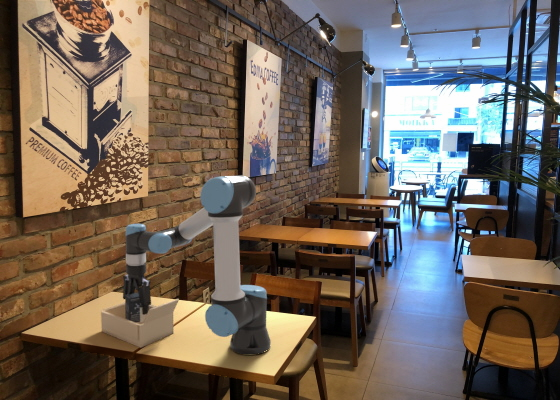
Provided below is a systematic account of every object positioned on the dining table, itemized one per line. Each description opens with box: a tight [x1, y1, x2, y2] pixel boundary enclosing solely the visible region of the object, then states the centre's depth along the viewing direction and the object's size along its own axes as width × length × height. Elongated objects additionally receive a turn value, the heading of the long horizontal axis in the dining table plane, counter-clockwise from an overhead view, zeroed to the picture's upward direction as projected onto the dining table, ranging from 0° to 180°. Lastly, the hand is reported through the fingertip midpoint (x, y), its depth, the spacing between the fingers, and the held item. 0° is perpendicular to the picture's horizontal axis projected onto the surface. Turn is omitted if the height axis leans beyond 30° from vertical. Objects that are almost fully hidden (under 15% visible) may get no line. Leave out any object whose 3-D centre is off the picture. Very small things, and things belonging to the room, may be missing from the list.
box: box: [124, 292, 149, 323], centre depth 176 cm, size 8×6×11 cm
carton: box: [100, 302, 175, 348], centre depth 177 cm, size 25×17×9 cm
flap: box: [144, 298, 180, 324], centre depth 168 cm, size 1×14×7 cm, turn 147°
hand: (137, 319), depth 177 cm, fingers closed on box, 7 cm apart
